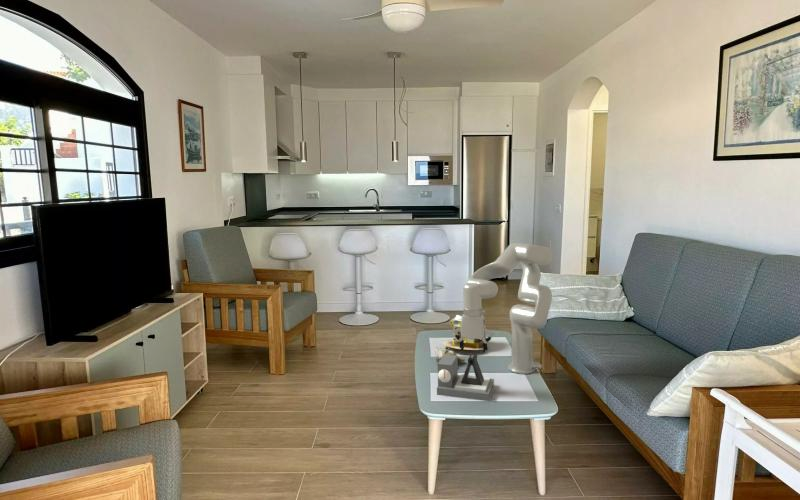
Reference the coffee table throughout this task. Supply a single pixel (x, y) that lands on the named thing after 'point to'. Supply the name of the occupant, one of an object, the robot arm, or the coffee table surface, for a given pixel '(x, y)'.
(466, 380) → the phone stand
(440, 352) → the ceramic sculpture
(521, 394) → the coffee table surface
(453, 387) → the grey bracket with tile
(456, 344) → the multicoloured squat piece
